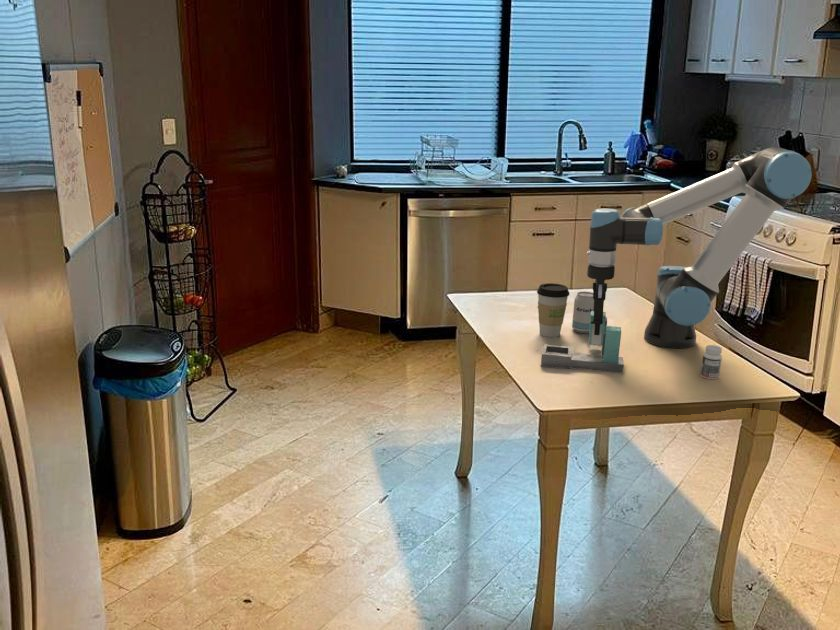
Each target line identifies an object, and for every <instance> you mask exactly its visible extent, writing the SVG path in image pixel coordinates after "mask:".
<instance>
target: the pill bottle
mask: <svg viewBox="0 0 840 630" xmlns="http://www.w3.org/2000/svg"><path fill="white" fill-rule="evenodd" d="M722 350H723V348H722V347H721V346H718V345H713V344H709V345H706V346H705V350H704V351H705V352H704V353H703V355H702V361H701V368H700V369H701V370H700V376H701V377H702V378H704V379H706V378H707V380H718V379H719V377H720V372H721V366H722V359H723V357H722V356H723V355H722Z"/></svg>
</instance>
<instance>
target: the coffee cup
mask: <svg viewBox="0 0 840 630" xmlns="http://www.w3.org/2000/svg"><path fill="white" fill-rule="evenodd" d="M568 288H569V287H567V285H565V284H559V283H553V282H552V283H551V282H549V283H541V284H540V285H539V287H538V288H537V289H536V294H537V297H538V300H537V308H538V311H537V312H538V313H537V314H538V323H539V334H540V335H541V336H542V337H543V336H544V337H547V338H557V337H559V336H560V335H561V330H562V325H563V324H564V319H565V315H566V309H567V304H568V303H567V301H568V297H569V296H570V291H569V289H568Z"/></svg>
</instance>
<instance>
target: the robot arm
mask: <svg viewBox="0 0 840 630" xmlns="http://www.w3.org/2000/svg"><path fill="white" fill-rule="evenodd" d="M811 181H812V167H811V164H810V162H809V161H808V159H806V158H805V157H804V156H803V155H801V154H800V153H799V152H796V151H795V150H789V149H786V148H783V147H779V146H771V147H768V148H765V149H762V150H760V151H758V152H755V153H753V154H751V155H749V156H747V157H745V158H742V159H740V160H738V161H735V162H733V165H732V166H731V168H727V169H726V170H724V171H721V172H719V173H716V174H714V175H711V176H709V177H707V178H704V179H702V180H700V181H697V182H694V183H692V184H691V185H688V186H686V187H683V188H681V189H679V190H677V191H674V192H671V193H669V194H667V195H664V196H662V197H660V198H658V199H655V200H652V201H650V202H648V203H646V204H642V205H641V206H638V207H630V208H627V209H626V210H624V211H623V213H622V214H621V216H620V212H619V210H618V209H615V208H607V207H606V208H596V209H594V210H593V211H592V212H591V218H590V226H589V243H588V244H589V245H588V246H589V247H588V251H586V252H585V253H586V256H588V259H587V261H588V264H587V272H586V275H587V277H588V278H590V279H592V280H594V281H593V282H592V291H593V292H592V293H593V299H594V309H593V311H594V319H593V321H591V324H593V325H592V339H591V345H590V346H597V345H601V335H602V323H603V321H602V320H603V312H604V307H605V306H604V305H605V300H606V298H607V297H606V293H607V290H608V282H605V281H608V280H612V279H614V277H615V270H616V266H615V264H616V259H617V245H637V246H655V245H656V246H657V245H660V244H661V242H662V239H663V233H664V225H666V224H668V223H671V222H673V221H676V220H678V219H681V218H683V217H686V216H688V215H691V214H693V213H696V212H698V211H700V210H702V209H705V208H708V207H710V206H712V205H714V204H717V203H720V202H722V201H724V200H727V199H729V198H731V197H734V196H737V195H739V194H741V193H743V194H745V195H743V198H741V200H740V202H739V203H738V204H737V205H736V206H735V208H734V209H733V211H732V212H731V213H730V214H729V216H728V217H727V219H726V220H725V221H724V222H723V224H722V225H721V226H720V228H719V230H717V232H716V233H715V235H714V236H713V237H712V238H711V240H710V241H709V243H707V246H706V247H705V248H704V249H703V251H702V252H701V253H700V255H699V256H698V257H697V258H696V260H695V261H694V263H693V264H692V265H690V266H682V265H681V266H676V265H663V266H660V267H659V268H658V272H657V274H656V287H655V292H654V293H655V294H654V299H653V300H654V301H653V309H652V315H651V316H650V319H649V321H648V323H647V325H646V327H645V329H644V333H643V334H644V335H643V338H644V340H645V341H646V342H648V343H650V344H652V345H654V346H657V347H662V348H668V349H669V348H670V349H688V348H692V347H694V346H695V345H696V342H697V333H696V326H695V325H697V324H700V323H702V322H703V321H704V320H705V319H706V318H707V317H708V315H709V313H710V311H711V307H712V305H711V304H712V302H713V300H714V299H715V297H716V296H718V294H719V293H720V289H719V283H720V282H721V281H722V280H723V278H724V277H725V275H727V273H728V272H729V270H731V268H732V266H733V265H734V264H735V263H736V261H737V260H738V259H739V257H740V256H741V255H742V254H743V252H744V251H745V250H746V249H747V247H748V246H749V244H750V243H751V241H752V240H753V239H754V238H755V236H756V235H758V232H760V230H761V229H762V228H763V226H764V225H765V224H766V223H767V222H768V220H769V218H771V216H772V215H773V213H774V212H776V211H779V210H780V211H781V210H784V209H785V208H786V207H787V205H788V204H789V202H790V201H791V200H792V199H794V198H796V197H797V196H800V195H802V194H803V193H804V192H805V191H806V190H807V189H808V187H809V185H810V184H811Z"/></svg>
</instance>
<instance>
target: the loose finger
mask: <svg viewBox="0 0 840 630" xmlns="http://www.w3.org/2000/svg"><path fill="white" fill-rule="evenodd" d="M593 319H594V311H591V316H590V330H589V333H588V334H589V335H588V345H589V346H592V345H591V339H592V325H593V324H591V321H593ZM602 321H603V323H602V335H601V345H596V346H600V347H602V342H603V332H604V331H605V330H606V326H608V316H607V312H606V311H603V320H602Z"/></svg>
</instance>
